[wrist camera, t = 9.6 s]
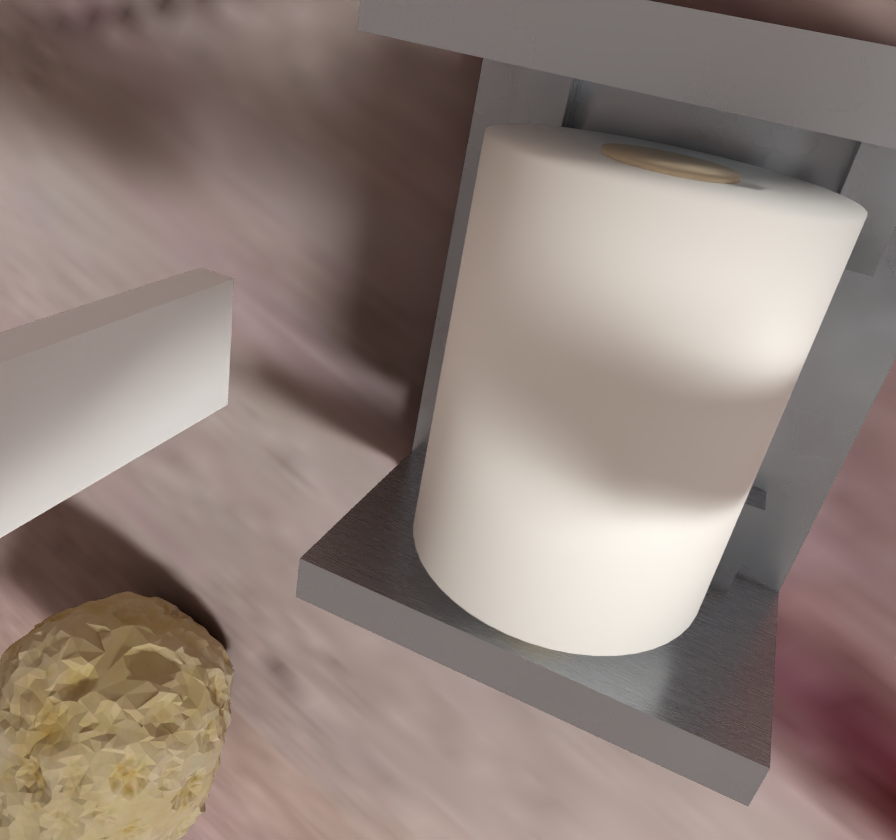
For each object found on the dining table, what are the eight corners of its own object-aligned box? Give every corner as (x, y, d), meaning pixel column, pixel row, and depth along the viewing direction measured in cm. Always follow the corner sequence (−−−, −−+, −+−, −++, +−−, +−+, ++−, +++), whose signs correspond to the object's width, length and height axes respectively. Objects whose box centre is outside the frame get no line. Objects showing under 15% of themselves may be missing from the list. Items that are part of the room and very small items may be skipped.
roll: (700, 517, 21) (700, 705, 15) (458, 445, 22) (367, 591, 16) (835, 175, 17) (915, 244, 11) (526, 109, 18) (438, 137, 12)
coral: (-69, 761, 32) (-152, 732, 23) (140, 593, 37) (133, 521, 29) (83, 939, 30) (53, 975, 22) (275, 738, 36) (309, 707, 28)
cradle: (761, 610, 22) (746, 809, 16) (416, 475, 25) (295, 599, 19) (1023, 82, 15) (1161, 86, 9) (508, -16, 18) (367, -60, 12)
